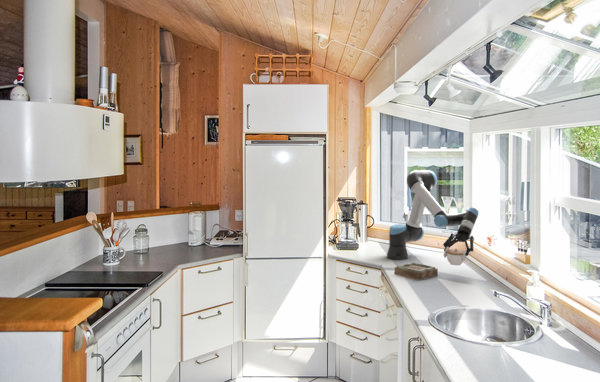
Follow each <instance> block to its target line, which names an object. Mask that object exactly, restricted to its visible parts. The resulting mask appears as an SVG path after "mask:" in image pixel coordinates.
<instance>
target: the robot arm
mask: <svg viewBox="0 0 600 382" xmlns="http://www.w3.org/2000/svg"><path fill="white" fill-rule="evenodd" d="M437 183H438V178H437V175H436V173H435V172H434V171H432V170H428V169H426V170H423V169H422V170H412V171H410V173H408V175H407V177H406V184H407V187H408V188H409V190H410V191H411V192H412V193H414V196H413V202H412V206H411V208H410V213H409V217H408V218H409V219H408V220H406V222H405V224H400V223H399V224H394V225H391V226H390V227H389V230H388V231H389V232H388V233H389V242H388V243H389V247H388V249H387V250H388V251H387V252H386V258H388V259H391V260H407V259H409V253H408V250H407V243H410V242H418V241H420V240H422V239H423V237H424V234H425V231H424V228H423V224H422V221H423V220H422V219H423V215H424V212H425V211H424V210H425V208H426V210H427V211H429V213H430V214H431V216H432V217H433V222H434V225H435V226H436V227H439V228H445V227H457V226H459V227H458V230H457V232H456V234H454V233H452V232H451V233H450V236H449V237H448V238H447V239H446V240H445V242H443V245H442V246H443V247H444V250H443V252H444V253H443V257H444V259H447V252H446V251H447V250H450V249H451V247H452V246H454V245H455V244H457V243H458V242H459V243H460V242H461V243H464V245H465V249H464V250H463V251H464V254H463V256H462V260H463V261H464V262H465V261H466V258H467V257H469V254H470V252H472V253H473V252H474V240H475V237H474V236H473V235H471V234H472V231H473V228H474V226H475V224H476V221H477V219H478V218H479V217H478V216H479V210H478V209H476V208H475V207H473V206H471V207H470V206H469V207H467V209H466V210H465V211H463V212H460V213H450V214H448V213H446V211H444V209H443V208H442V207H441V205H440V204H439V203H438V201H436V199H435V198H434V197H433V195H431V193H430V192H432V188H433V187H435V186H436V185H437ZM468 240H469V243H468V242H467V241H468Z"/></svg>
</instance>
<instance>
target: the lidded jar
mask: <svg viewBox="0 0 600 382" xmlns="http://www.w3.org/2000/svg"><path fill="white" fill-rule="evenodd" d="M464 251H465V250H461V249H458V248H454V249H449V250H447V251H446V252H447V256H446V259H447V261H448V263H449V264H450V265H452V266H461V265H462V264H464V262H465V261H463V260H462V256H463V254H464Z"/></svg>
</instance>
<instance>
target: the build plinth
mask: <svg viewBox="0 0 600 382" xmlns="http://www.w3.org/2000/svg"><path fill="white" fill-rule="evenodd" d="M394 275H397V276H401V277H405V278H409V279H413V280H417V281H420V280H425V279H428V278H433V277H437V276H438V275H439V269H438V268H436V266H432V265H427V264H423V263H419V262H409V263H405V264H404V263H403V264H400V265H397V266H395V267H394Z"/></svg>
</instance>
